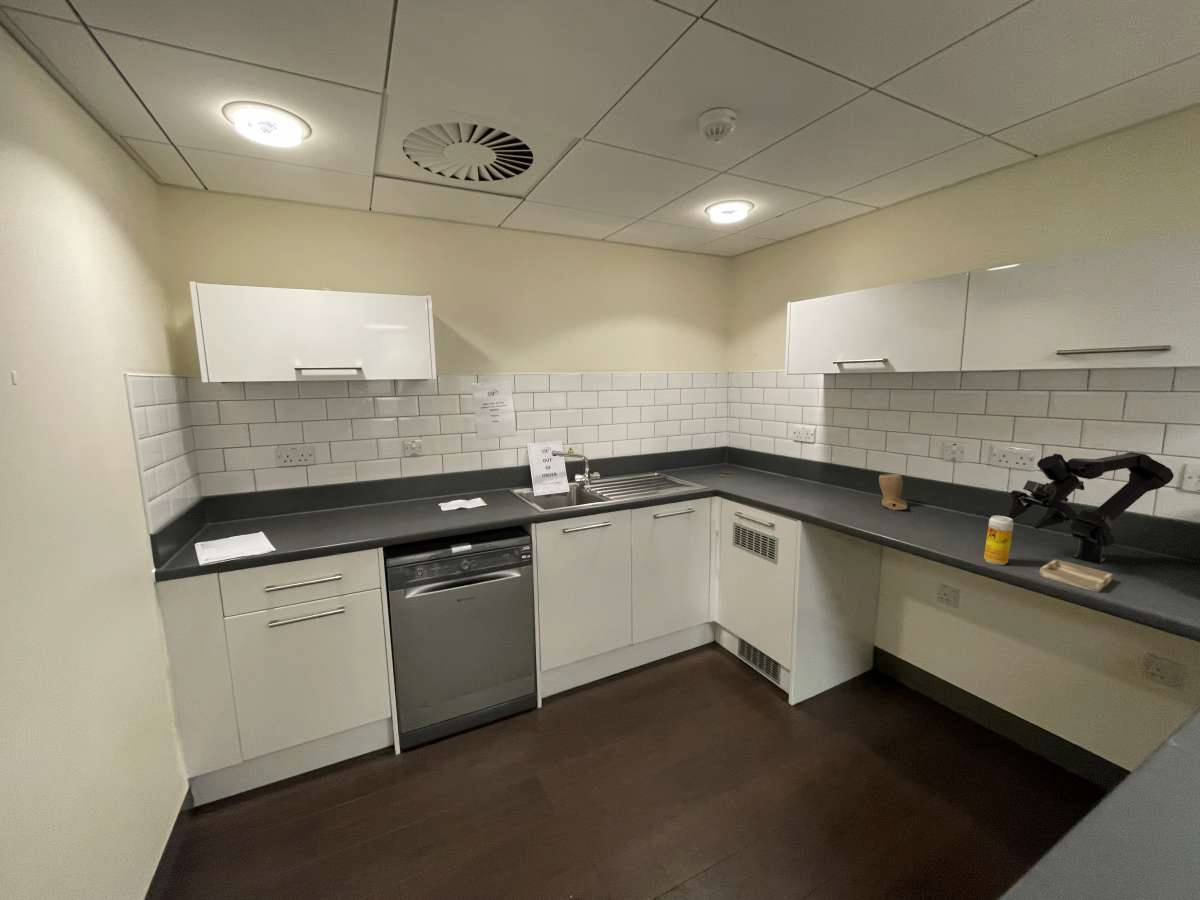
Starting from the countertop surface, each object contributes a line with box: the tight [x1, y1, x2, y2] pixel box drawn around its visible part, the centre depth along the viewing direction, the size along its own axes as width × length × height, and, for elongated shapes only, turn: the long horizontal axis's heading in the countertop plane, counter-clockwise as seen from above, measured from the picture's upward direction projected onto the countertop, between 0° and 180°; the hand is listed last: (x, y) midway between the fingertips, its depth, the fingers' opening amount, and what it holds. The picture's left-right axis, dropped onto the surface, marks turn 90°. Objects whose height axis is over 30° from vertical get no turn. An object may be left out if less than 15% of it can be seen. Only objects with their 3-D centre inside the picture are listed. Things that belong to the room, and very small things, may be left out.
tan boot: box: [878, 473, 908, 511], centre depth 220 cm, size 15×12×15 cm
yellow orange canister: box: [983, 515, 1015, 566], centre depth 156 cm, size 6×6×15 cm
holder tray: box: [1038, 559, 1114, 593], centre depth 145 cm, size 13×13×2 cm
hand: (1021, 523), depth 156 cm, fingers open, 9 cm apart
